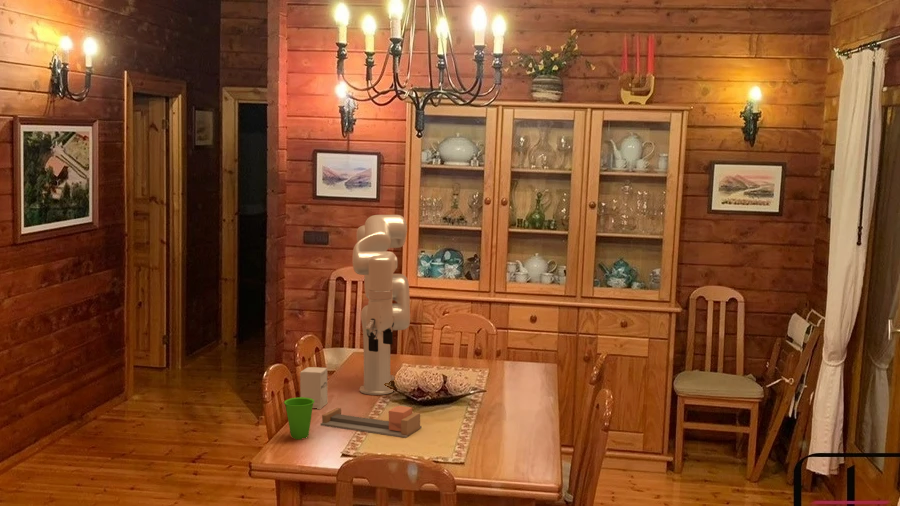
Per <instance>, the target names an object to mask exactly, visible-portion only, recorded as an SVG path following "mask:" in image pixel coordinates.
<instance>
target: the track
mask: <svg viewBox="0 0 900 506" xmlns="http://www.w3.org/2000/svg"><path fill="white" fill-rule="evenodd" d="M321 419H322V420H321V423H320V426H322V425H325V426H324V427H329V426H331V427H330V428H336V427H337V429H344V430H350V431H356V430H359V431H358V432H363V431H365V432H366V433H371V434H378V435H384V436H390V437H397V438H403V437H404V439H406V438H408V437H409V436H411V435H413V434H414V433H416V432H418V431H419V430H421V429H422V425H421V412H416V411H414V412H412V414H411V415H409V416H407V417H406V418H404V419H402V420H401V431H394V430H389V420H383V419H375V418H369V417H361V416H356V415H354V416H353V415H345V414H342V408H341V407H336V408H334V409H331V410H329V411H328V412H325V413H323V414H322V417H321ZM365 432H364V433H365Z"/></svg>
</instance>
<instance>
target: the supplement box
mask: <svg viewBox="0 0 900 506" xmlns="http://www.w3.org/2000/svg"><path fill="white" fill-rule="evenodd" d="M299 374H300V375H299V377H300V378H299V381H300V383H299V384H300V385H299V387H300V392H299V393H300V396H299V397H305V398H311V399H313V400H314V401H315V402H314V403H313V408H317V409H316V410H321V409H322V408H324V406H326V405H327V404H328V367H317V366H316V367H314V366H313V367H312V366H308V367H306V368H304V369H303V370H301V371H300V372H299Z"/></svg>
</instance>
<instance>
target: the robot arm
mask: <svg viewBox="0 0 900 506" xmlns="http://www.w3.org/2000/svg"><path fill="white" fill-rule="evenodd" d="M407 225H408V223H407V221H406V219H405V217H404V216H402V215H400V214H375V215H371V216H369V217H368V218H367V219H366V220H365V222H364V224H363V225H361V226H359V227H358V228H357V229H356V243H355V245H354V246H353V249H352V268H353V271H354V272H355V274H357V275H360V276H364V278H363V279H364V282H363V283H364V295H365V298H367V299H368V302H367V305H365V306H363V307H362V309H361V311H360V320H361V326H362V327H361V328H362V335H363V337H362V339H363V385H360V387H359V392H360V393H361V394H365V395H372V396H379V395H380V396H383V395H387V394H391V393H393V389H389V388H388V387H387V386H385V385H384V384H385V383H389V382H390V381H391V382H392V381H394V380H395V375H394V374H391V345H393V341H394V339H393V338H394V337H393V334H394V333H393V331H404V330H407V329H408V328H409V327H410V323H411V305H410V303H411V299H410V297H411V296H410V284H409V279H408V277H407V276H406V275H405V274H402V273H395V271H396V270H397V269H398V257H397V256H396V254H395V253H394V252H392V251H388V250H389V249H391V248H392V249H396V248H397V249H399V248H402V247H404V246H405V244H406V240H407V233H408V226H407ZM393 301H395V303H393ZM391 382H390V383H391Z"/></svg>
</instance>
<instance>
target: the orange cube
mask: <svg viewBox="0 0 900 506" xmlns="http://www.w3.org/2000/svg"><path fill="white" fill-rule="evenodd" d="M412 413H413V407H412V406H411V407H410V406H404V405H396V406H395V407H393V408H391V409H389V410H388V421H389V430H394V431H401V420H402V419H404V418H406V417H407V416H409V415H411V414H412Z"/></svg>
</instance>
